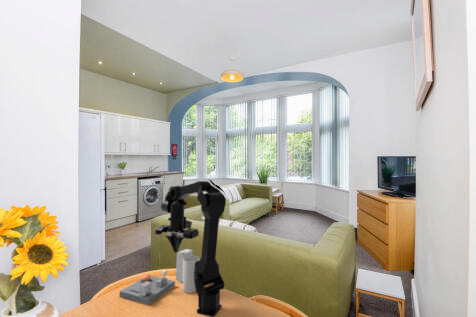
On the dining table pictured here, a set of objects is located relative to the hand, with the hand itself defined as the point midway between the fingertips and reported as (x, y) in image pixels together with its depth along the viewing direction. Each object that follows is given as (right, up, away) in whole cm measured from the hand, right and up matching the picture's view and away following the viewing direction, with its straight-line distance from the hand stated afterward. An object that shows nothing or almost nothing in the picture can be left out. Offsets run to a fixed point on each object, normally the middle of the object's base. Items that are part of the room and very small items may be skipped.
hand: (176, 252), depth 93 cm
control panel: (-9, -12, -7) cm, 17 cm away
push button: (-12, -10, -3) cm, 16 cm away
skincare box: (+3, -14, +3) cm, 14 cm away
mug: (+7, -13, -4) cm, 15 cm away
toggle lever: (-4, -9, -6) cm, 12 cm away
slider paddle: (-8, -10, -13) cm, 18 cm away
